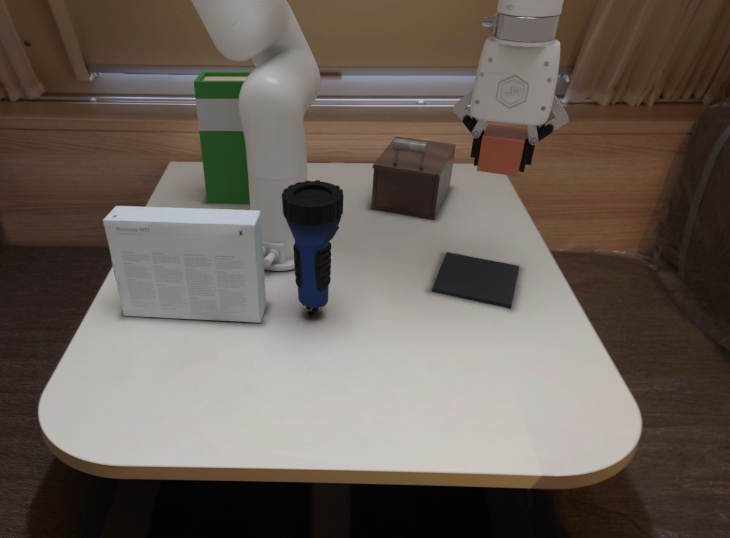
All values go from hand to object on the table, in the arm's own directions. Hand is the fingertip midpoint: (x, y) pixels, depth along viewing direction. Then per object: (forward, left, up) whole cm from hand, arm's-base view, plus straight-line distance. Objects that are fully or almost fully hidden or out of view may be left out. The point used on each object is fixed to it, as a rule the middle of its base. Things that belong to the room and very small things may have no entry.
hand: (499, 164), depth 82 cm
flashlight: (-19, +21, -20) cm, 35 cm away
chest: (+26, +17, -20) cm, 37 cm away
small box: (0, 0, 0) cm, 0 cm away
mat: (0, 0, -20) cm, 20 cm away
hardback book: (+15, +48, -20) cm, 54 cm away
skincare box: (-24, +38, -20) cm, 49 cm away
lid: (+26, +17, -11) cm, 33 cm away
